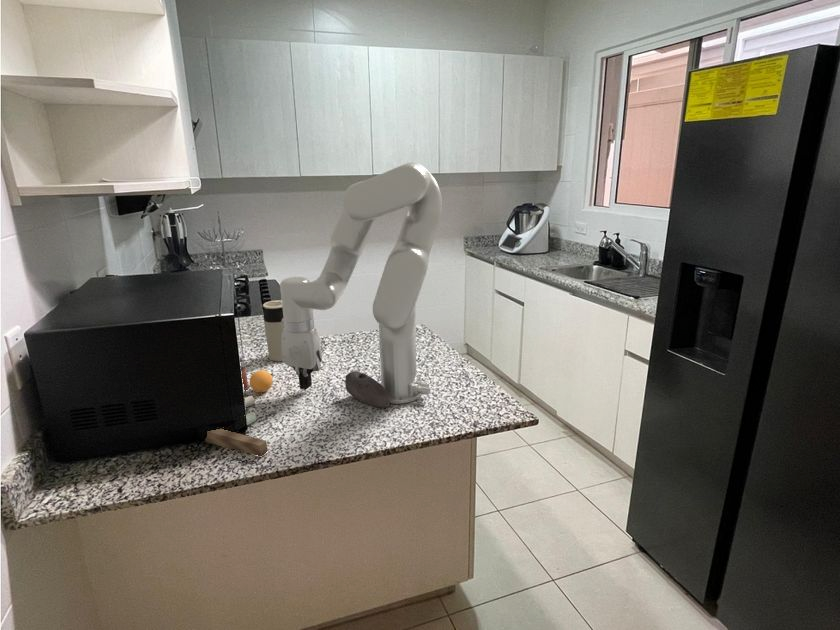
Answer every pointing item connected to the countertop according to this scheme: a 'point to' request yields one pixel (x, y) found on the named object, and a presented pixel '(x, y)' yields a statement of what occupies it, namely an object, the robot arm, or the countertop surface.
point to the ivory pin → (249, 401)
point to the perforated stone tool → (366, 389)
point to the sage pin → (250, 418)
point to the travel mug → (274, 328)
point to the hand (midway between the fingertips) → (306, 387)
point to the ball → (261, 381)
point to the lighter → (244, 375)
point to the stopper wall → (237, 441)
